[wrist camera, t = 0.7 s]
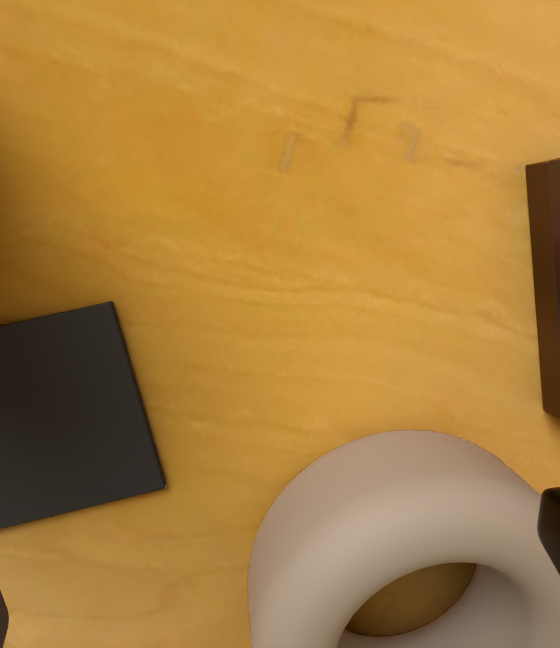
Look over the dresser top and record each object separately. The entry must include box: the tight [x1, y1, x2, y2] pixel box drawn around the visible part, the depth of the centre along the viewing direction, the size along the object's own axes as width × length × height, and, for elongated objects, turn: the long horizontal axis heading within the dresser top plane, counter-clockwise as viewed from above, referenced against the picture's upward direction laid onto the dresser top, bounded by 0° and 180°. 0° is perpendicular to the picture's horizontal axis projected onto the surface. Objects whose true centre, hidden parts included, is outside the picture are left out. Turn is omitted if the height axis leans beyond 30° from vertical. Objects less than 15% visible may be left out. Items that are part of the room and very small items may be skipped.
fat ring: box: [247, 430, 560, 648], centre depth 22 cm, size 15×15×7 cm
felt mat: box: [0, 301, 166, 529], centre depth 21 cm, size 9×9×1 cm
